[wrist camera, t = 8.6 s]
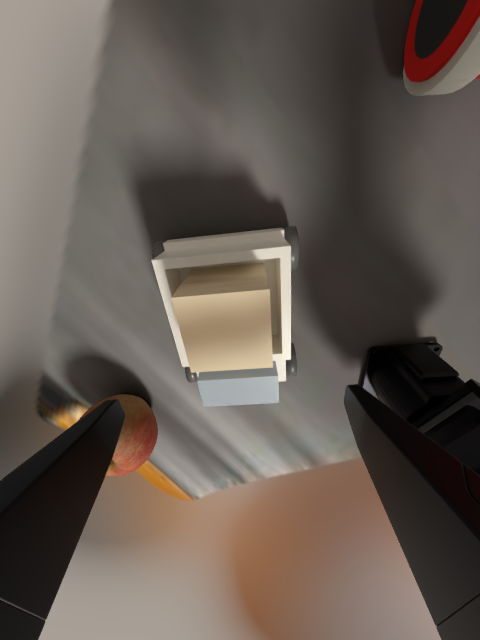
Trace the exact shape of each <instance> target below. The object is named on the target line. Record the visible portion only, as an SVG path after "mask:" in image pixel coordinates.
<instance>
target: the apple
mask: <svg viewBox="0 0 480 640" xmlns="http://www.w3.org/2000/svg"><path fill="white" fill-rule="evenodd" d="M108 399H118V400H119V401H120V403H121V405H122V407H123V409H124V411H125V420H124V423H123V427H122V430H121V433H120V436H119V440H118V443H117V446H116V449H115V452H114V455H113V458H112V461H111V463H110V466H109V468H108V471H107V473H106V475H105V476H118V475H124V474H127V473H130V472H132V471H134V470H136V469H137V468H139V467H140V466H141V465H142V464H143V463H144V462H145V461H146V460H147V459H148V458H149V456H150V455H151V453H152V451H153V449H154V447H155V444H156V440H157V435H158V428H157V422H156V418H155V416H154V413H153V411H152V410H151V408H150V407H149V406H148V404H147V403H146V402H145V401H144V400H143V399H142V398H140V397H137V396H133V395H127V394H120V395H114V396H111V397H108V398H106V399H103V400H101V401H99V402H98V403H96V404H94V405H93V406H92V407H91V408H89V409H88V410H87V411H86V412H85V413H84V414H83V416H82V417H81V418H80V419H82V418H83V417H84V416H86V415H87V414H88V413H89V412H91V411H92V410H93V409H95V408H96V407H97V406H99V405H100V404H101V403H103V402H104V401H105V400H108ZM80 419H79V420H80Z"/></svg>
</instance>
